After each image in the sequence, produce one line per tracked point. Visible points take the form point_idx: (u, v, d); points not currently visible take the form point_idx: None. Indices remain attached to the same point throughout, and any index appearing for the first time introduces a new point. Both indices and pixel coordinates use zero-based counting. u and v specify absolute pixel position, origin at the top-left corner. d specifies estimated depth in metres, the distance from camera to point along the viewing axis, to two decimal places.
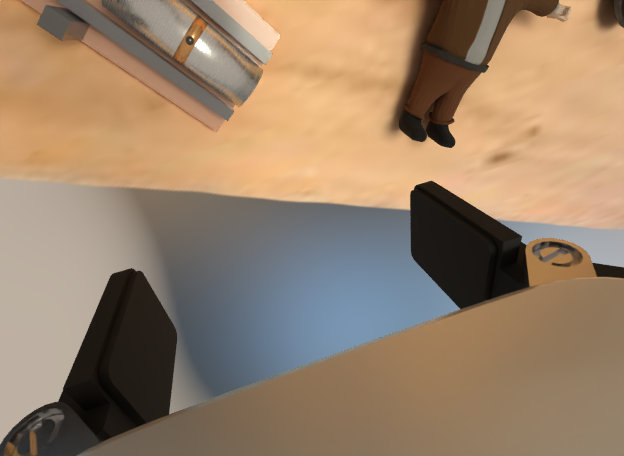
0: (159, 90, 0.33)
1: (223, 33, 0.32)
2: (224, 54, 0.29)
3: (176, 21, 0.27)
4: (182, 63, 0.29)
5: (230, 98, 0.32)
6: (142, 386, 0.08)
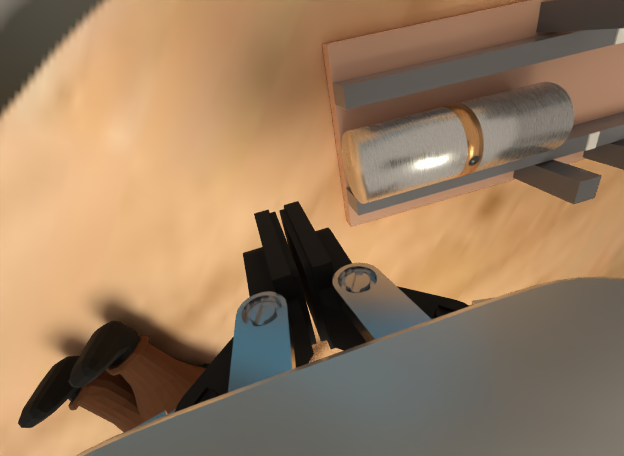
0: (436, 26, 0.19)
1: None
2: (425, 183, 0.19)
3: (492, 162, 0.19)
4: (462, 120, 0.18)
5: (380, 144, 0.17)
6: None
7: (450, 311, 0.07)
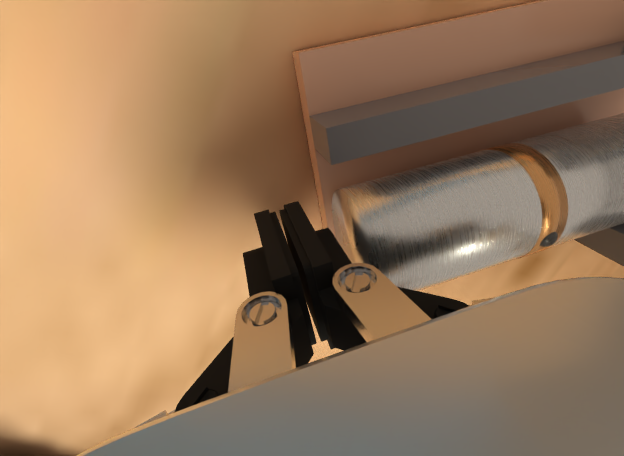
0: (479, 23, 0.12)
1: None
2: None
3: (574, 237, 0.12)
4: (533, 176, 0.11)
5: (398, 218, 0.10)
6: None
7: (450, 311, 0.07)
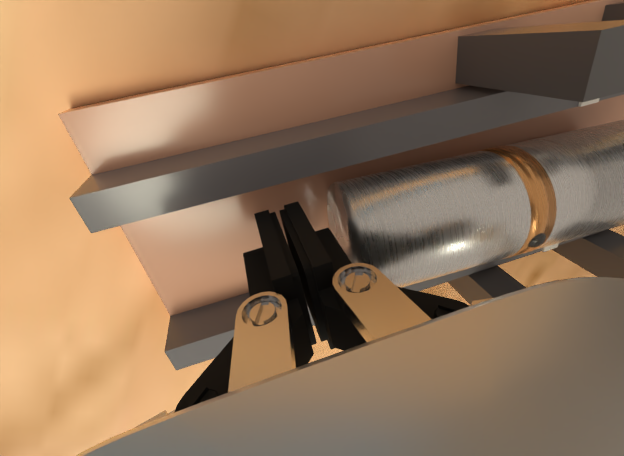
0: (272, 77, 0.11)
1: None
2: (456, 271, 0.12)
3: (561, 240, 0.12)
4: (524, 177, 0.11)
5: (391, 212, 0.10)
6: None
7: (450, 311, 0.07)
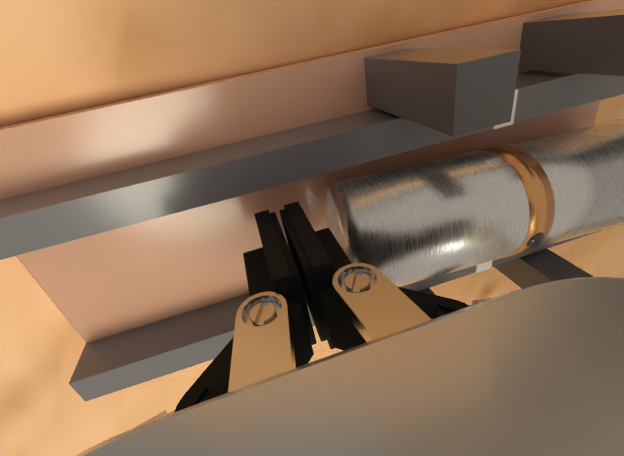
0: (162, 104, 0.11)
1: (188, 306, 0.14)
2: (455, 270, 0.12)
3: (559, 239, 0.12)
4: (522, 176, 0.11)
5: (390, 211, 0.10)
6: None
7: (450, 311, 0.07)
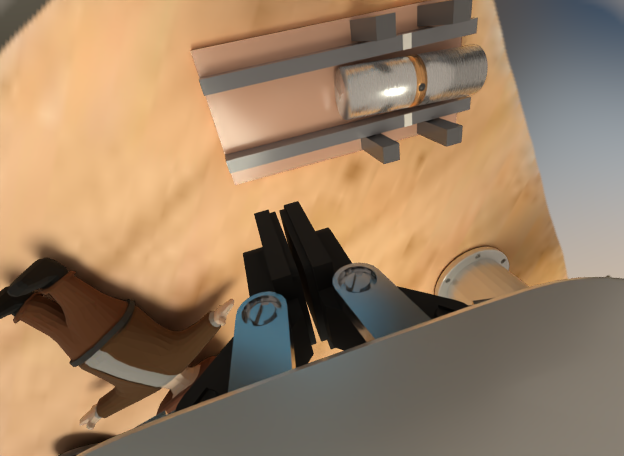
0: (271, 37, 0.27)
1: (269, 139, 0.31)
2: (390, 103, 0.28)
3: (435, 91, 0.29)
4: (412, 60, 0.28)
5: (359, 70, 0.27)
6: None
7: (450, 311, 0.07)
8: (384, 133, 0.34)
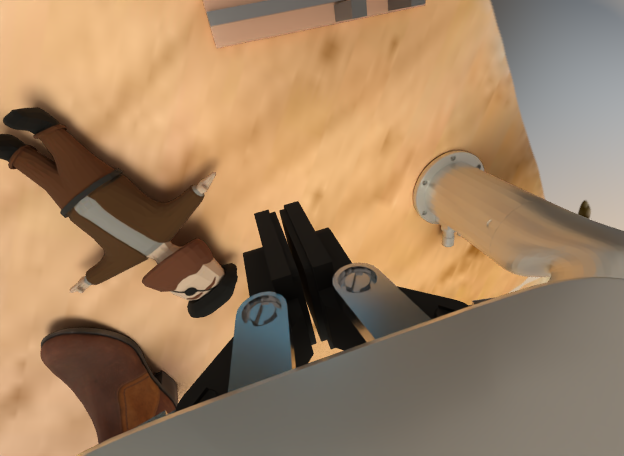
0: None
1: (248, 1, 0.34)
2: None
3: None
4: None
5: None
6: None
7: (450, 311, 0.07)
8: None
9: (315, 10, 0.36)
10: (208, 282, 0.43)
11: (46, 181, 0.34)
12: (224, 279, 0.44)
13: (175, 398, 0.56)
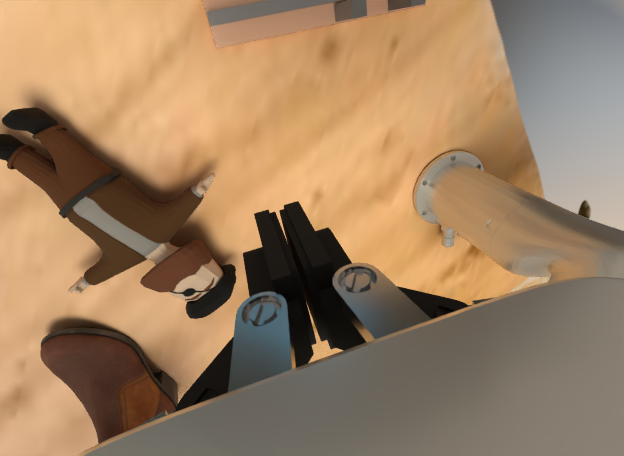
0: None
1: (248, 1, 0.34)
2: None
3: None
4: None
5: None
6: None
7: (450, 311, 0.07)
8: None
9: (315, 10, 0.36)
10: (206, 283, 0.43)
11: (45, 181, 0.34)
12: (223, 280, 0.44)
13: (175, 398, 0.56)
